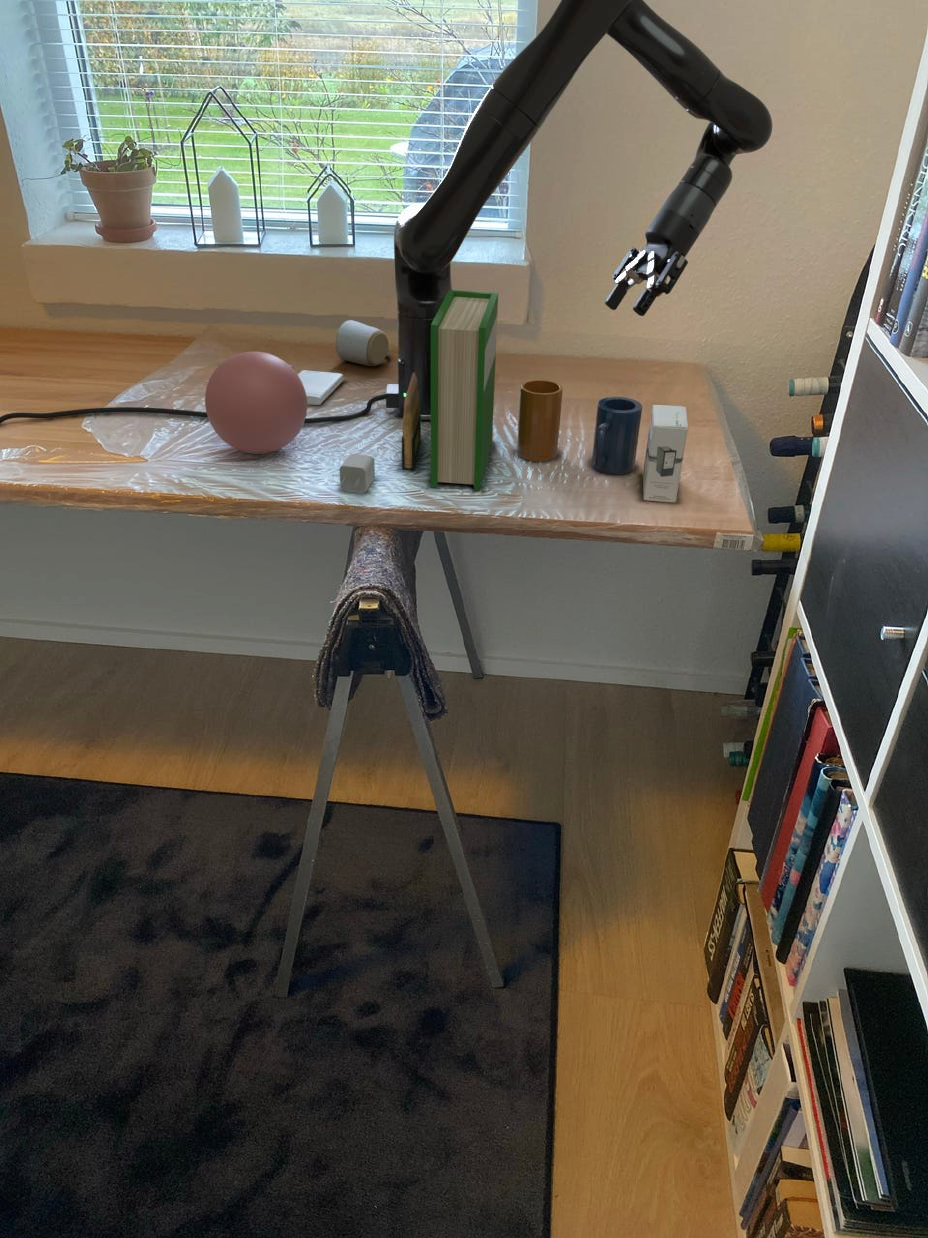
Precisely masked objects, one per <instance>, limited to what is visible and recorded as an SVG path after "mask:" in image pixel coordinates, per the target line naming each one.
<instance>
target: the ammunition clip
mask: <svg viewBox="0 0 928 1238" xmlns="http://www.w3.org/2000/svg"><path fill="white" fill-rule="evenodd" d="M402 417H403V418H402V437H401V470H403V471H404V470H407V471H415V468H416V465H417V461H418V456H419V452H420V448H421V444H422V425H421V424H422V420H421V414H420V403H419V395H418V382H417V377H416V374H415V372H414V373H413V375H412V378H411V381H410V384H409V387H408V391H407V394H406V397H405V402H404V416H402Z"/></svg>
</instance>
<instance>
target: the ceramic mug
mask: <svg viewBox="0 0 928 1238" xmlns="http://www.w3.org/2000/svg"><path fill="white" fill-rule="evenodd" d="M335 350H336V354H337V356H338V357H339V358H340V359H341V360H343V361H346V362H351V363H354V364H360V365H363V366H367V367H377V366H379V365H381V364H382V363H383V362H384V361H385V359H386V357H389V356H390V354H391V348H389V339H388V336H387V334H386V333H385V332H384V331H383V330H381V329H379V328H377V327H375V326H371V325H367V324H365V323H362V322H359V321H356V320H352V319H349V320H346V321H344V322H343V323H342V324H341V325H340V327H339V328H338V330H337V333H336V337H335Z"/></svg>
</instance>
